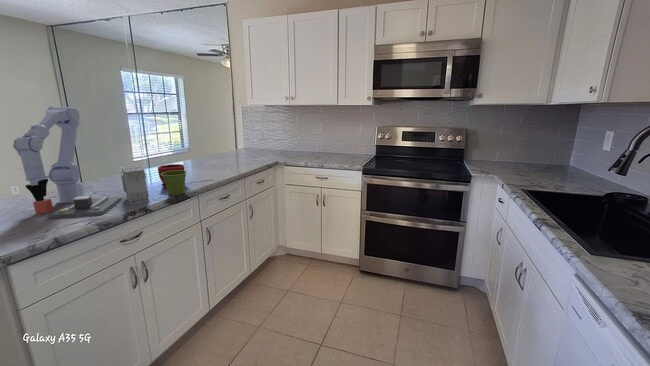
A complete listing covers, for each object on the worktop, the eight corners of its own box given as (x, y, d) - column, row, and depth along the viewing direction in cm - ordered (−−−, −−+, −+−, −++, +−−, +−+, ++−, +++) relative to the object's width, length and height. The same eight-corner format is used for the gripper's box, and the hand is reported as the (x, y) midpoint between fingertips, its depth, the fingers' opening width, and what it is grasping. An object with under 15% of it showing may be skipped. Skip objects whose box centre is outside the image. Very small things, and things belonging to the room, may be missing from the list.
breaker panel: (77, 203, 133) (76, 197, 132) (121, 200, 137) (120, 194, 137) (49, 218, 114) (48, 212, 113) (102, 214, 119) (101, 208, 118)
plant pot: (160, 193, 148) (157, 172, 145) (184, 189, 156) (182, 169, 153) (168, 198, 140) (164, 176, 137) (192, 194, 148) (190, 172, 145)
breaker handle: (79, 206, 123) (76, 196, 122) (92, 205, 124) (90, 195, 123) (75, 209, 120) (73, 198, 119) (89, 208, 121) (87, 197, 120)
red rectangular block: (42, 210, 123) (39, 199, 122) (53, 209, 124) (50, 198, 123) (36, 213, 119) (33, 202, 118) (47, 213, 120) (44, 201, 119)
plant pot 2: (191, 185, 165) (189, 164, 162) (170, 190, 154) (167, 168, 151) (176, 182, 171) (174, 162, 168) (155, 187, 160) (152, 166, 157)
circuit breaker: (141, 194, 147) (137, 165, 144) (149, 200, 137) (144, 169, 134) (124, 197, 142) (119, 167, 138) (131, 203, 132) (125, 172, 129)
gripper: (44, 168, 113) (52, 201, 117) (49, 163, 125) (56, 193, 128) (19, 170, 109) (28, 204, 113) (26, 164, 120) (34, 195, 124)
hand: (41, 198), depth 120 cm, fingers open, 7 cm apart
